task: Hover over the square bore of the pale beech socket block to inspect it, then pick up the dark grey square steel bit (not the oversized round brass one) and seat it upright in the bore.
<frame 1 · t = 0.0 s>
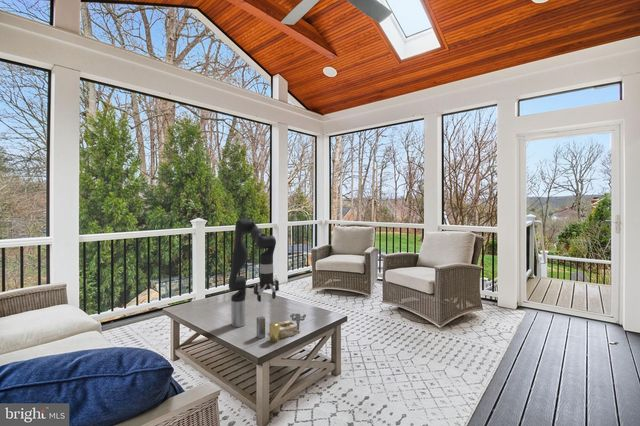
hand: (266, 300, 178), 29 cm above the table, fingers open, 8 cm apart
mechanical component: (298, 329, 209), on the table
square steel bit: (260, 336, 197), on the table
round brass bit: (274, 340, 193), on the table
socket block: (284, 332, 203), on the table
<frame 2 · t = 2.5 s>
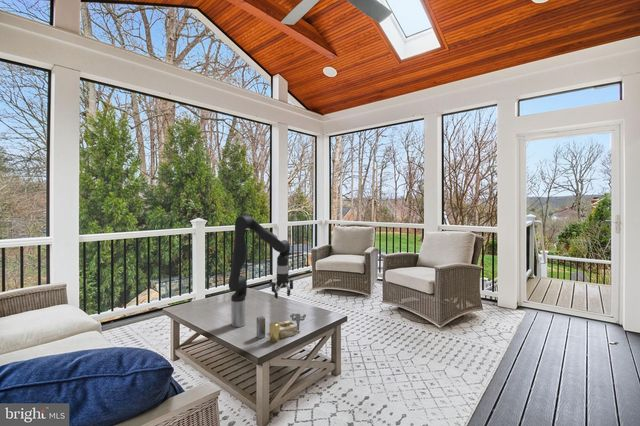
hand: (282, 297, 202), 23 cm above the table, fingers open, 8 cm apart
nothing on the table moved.
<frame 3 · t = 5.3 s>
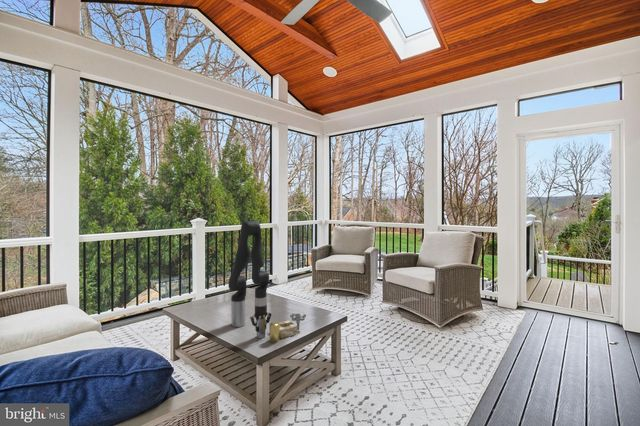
hand: (260, 330, 197), 4 cm above the table, fingers closed on square steel bit, 4 cm apart
square steel bit: (261, 336, 197), on the table, touching gripper
everything else where it was.
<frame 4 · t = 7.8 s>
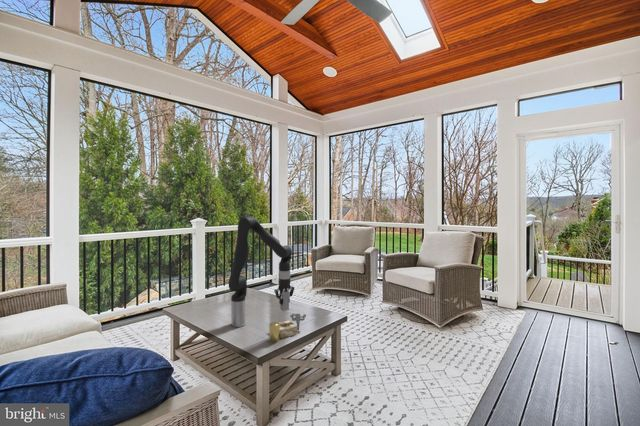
hand: (284, 303, 202), 19 cm above the table, fingers closed on square steel bit, 4 cm apart
square steel bit: (284, 309, 203), point 15 cm above the table, touching gripper
everything else where it was.
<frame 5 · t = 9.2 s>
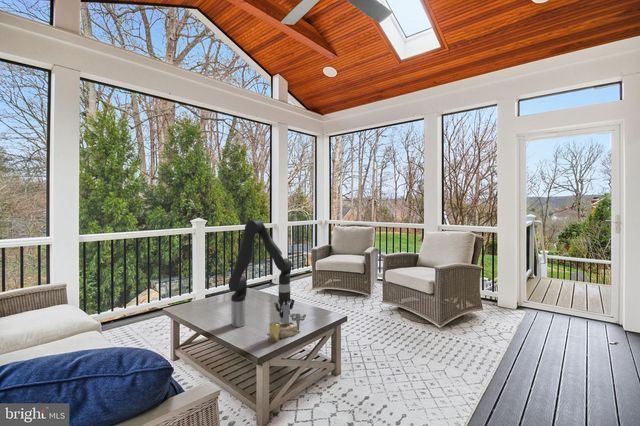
hand: (284, 316, 203), 11 cm above the table, fingers closed on square steel bit, 4 cm apart
square steel bit: (284, 322, 203), point 7 cm above the table, touching gripper
everything else where it was.
when the fingers open (7 cm above the table, at t = 10.3 s): square steel bit drops 2 cm, resting on socket block.
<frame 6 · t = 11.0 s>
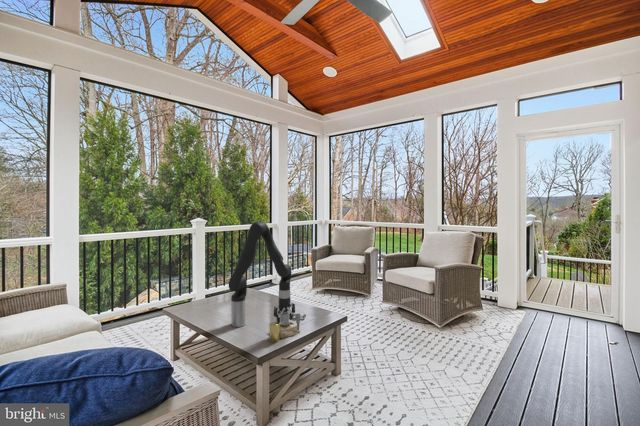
hand: (284, 321, 203), 8 cm above the table, fingers open, 8 cm apart
square steel bit: (284, 331, 203), point 1 cm above the table, touching socket block
everything else where it was.
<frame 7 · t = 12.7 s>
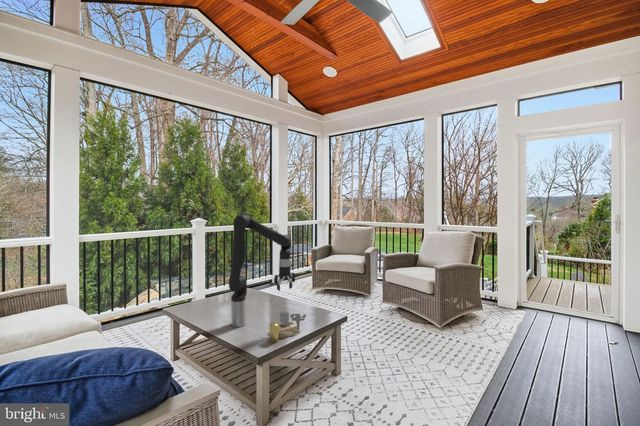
hand: (284, 289, 210), 26 cm above the table, fingers open, 8 cm apart
nothing on the table moved.
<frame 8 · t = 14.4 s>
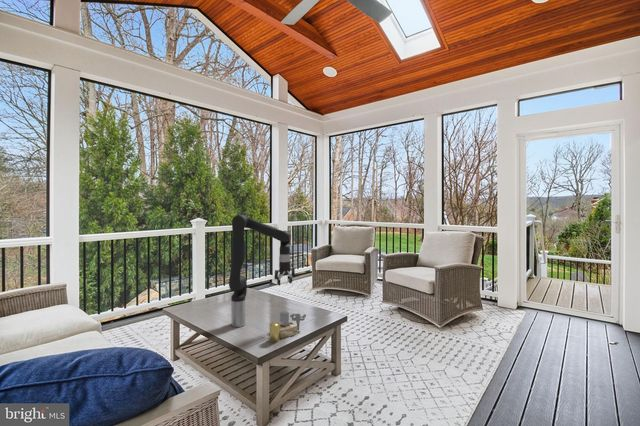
hand: (284, 284, 215), 28 cm above the table, fingers open, 8 cm apart
nothing on the table moved.
at the end: square steel bit 0.0 cm off-centre on the socket block, point 1.1 cm above the socket block's base; square steel bit tilted 0°; the gripper is holding nothing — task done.
